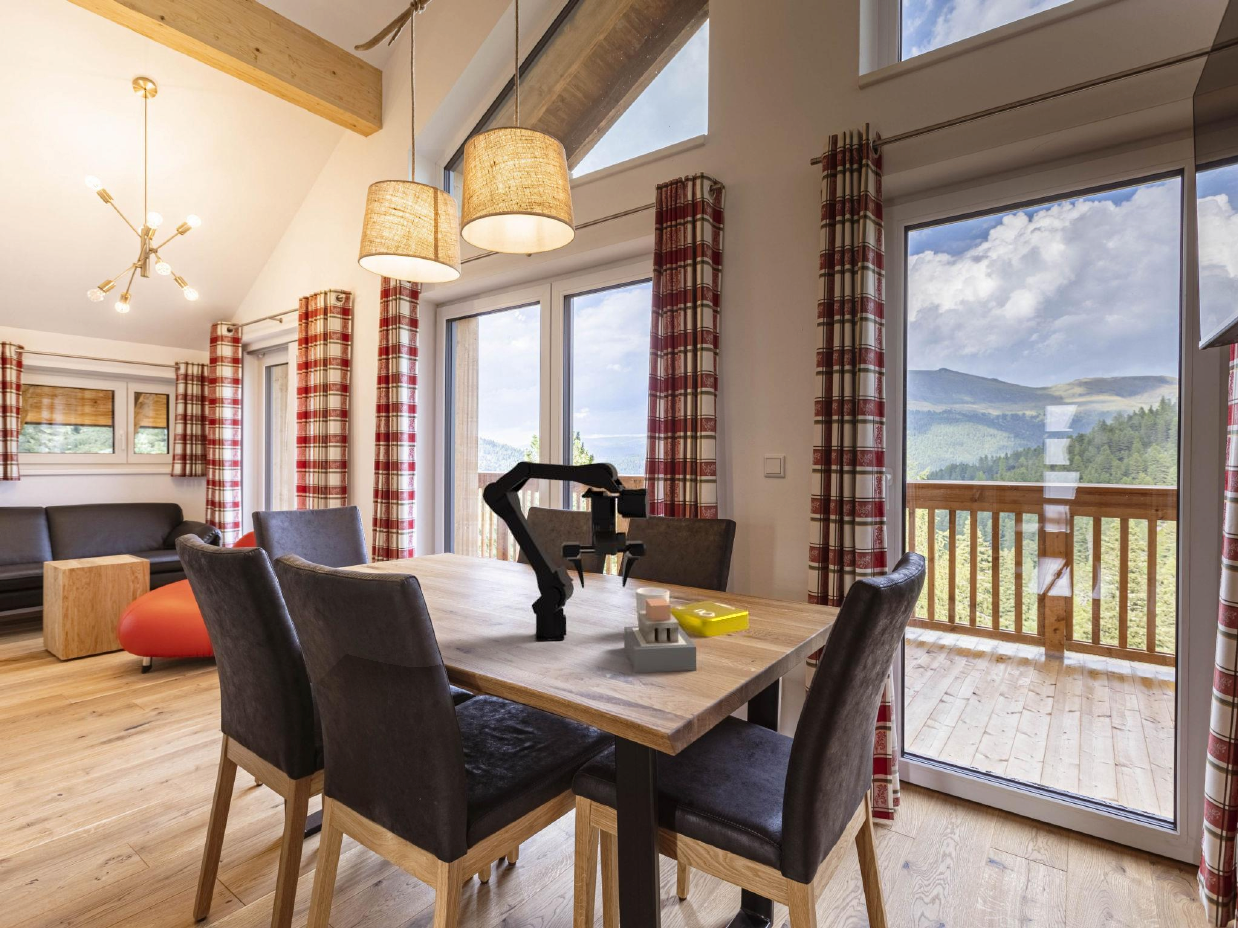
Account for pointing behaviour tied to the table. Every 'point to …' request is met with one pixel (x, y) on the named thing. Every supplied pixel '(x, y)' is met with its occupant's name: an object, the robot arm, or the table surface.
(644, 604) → the white cup
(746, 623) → the element tile
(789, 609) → the table surface
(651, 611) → the orange block
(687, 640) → the dock
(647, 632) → the grey slotted block
